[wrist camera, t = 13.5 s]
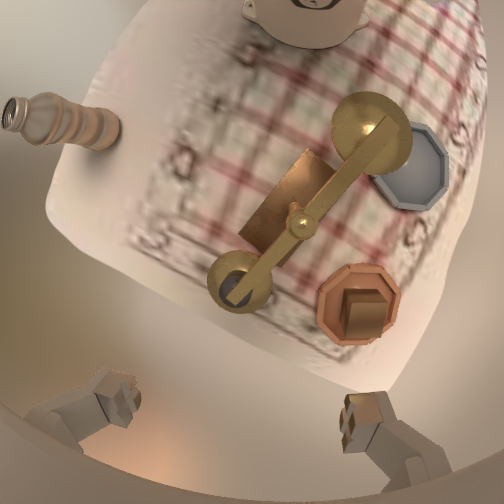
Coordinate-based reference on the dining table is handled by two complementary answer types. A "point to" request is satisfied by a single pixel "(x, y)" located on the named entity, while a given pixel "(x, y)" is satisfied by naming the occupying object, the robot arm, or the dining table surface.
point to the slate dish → (418, 173)
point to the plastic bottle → (59, 122)
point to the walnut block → (363, 313)
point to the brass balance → (311, 197)
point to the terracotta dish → (359, 279)
